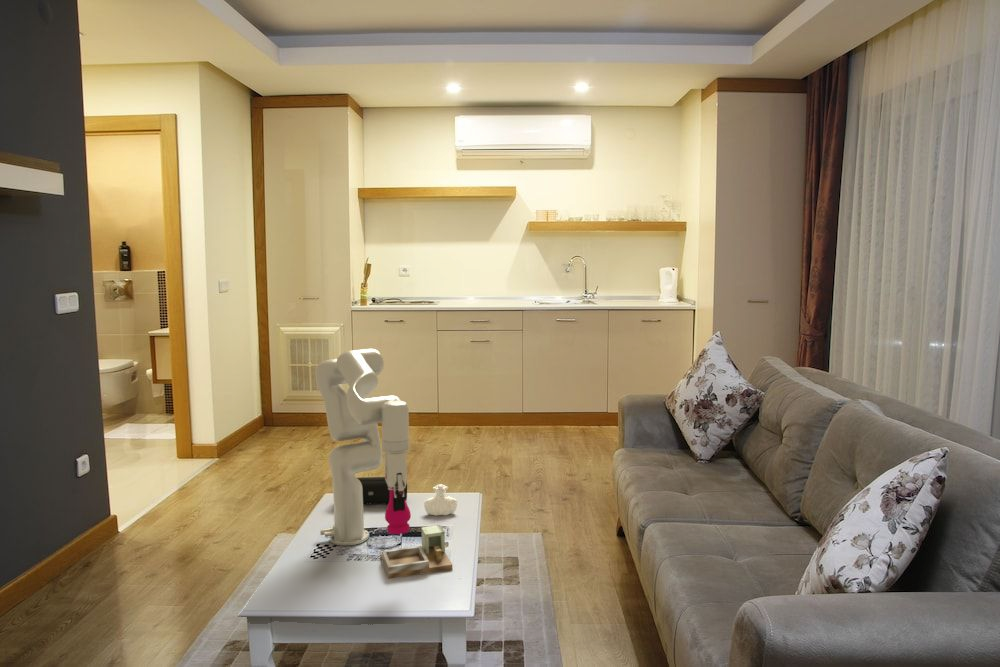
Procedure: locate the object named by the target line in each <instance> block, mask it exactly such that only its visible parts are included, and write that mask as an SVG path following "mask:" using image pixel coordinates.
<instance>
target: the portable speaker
mask: <svg viewBox="0 0 1000 667" xmlns="http://www.w3.org/2000/svg"><path fill="white" fill-rule="evenodd" d="M356 478H357V479H358V480H359V481H360V482H361V484H362V487H363V505H388V504H389V500H390V491H389V490H388V485H387V483H386V480H385V476H369V477H366V476H365V477H364V476H362V477H356ZM404 496H405V501H406V502H407V498H408V481H407V482H406V486H405V488H404Z"/></svg>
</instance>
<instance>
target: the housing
mask: <svg viewBox="0 0 1000 667" xmlns="http://www.w3.org/2000/svg"><path fill="white" fill-rule="evenodd" d="M445 535H446V534H445V531H444V528H443V527H442V526H441V525H440V524H438V525H431V526H430V525H429V526H428V525H427V526H422V527H421V547H422V548H423V550H424V552H425V554H429V547H431V546H439V547H440V549H441V550H442V552H445V553H446V544H445V543H446V542H445V541H446V539H445V538H446V537H445Z"/></svg>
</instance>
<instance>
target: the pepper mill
mask: <svg viewBox="0 0 1000 667" xmlns="http://www.w3.org/2000/svg"><path fill="white" fill-rule="evenodd" d="M386 475H387V473H386ZM386 475H385V474H384V477H386ZM386 479H387V477H386ZM395 486H398V484H395ZM404 488H405V487H404ZM388 490H389V491H390V500H389V504H387V507H386V510H385V513H384V514H385V515H384V519H385V521H386V522H387V523H388V525H387V526H386V530H387V533H388V534H391V535H402V534H406V533H408V532H410V523H408V522H409V520H411V516H412V515H411V511H410V507H409V506H408V504H407V500H406V501H405V510H404V511H401V510H399V511H394V510H393V497H394V489H393V487H392V488H389V487H388ZM397 490H398V488H397V489H396V491H397Z"/></svg>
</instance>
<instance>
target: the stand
mask: <svg viewBox="0 0 1000 667" xmlns="http://www.w3.org/2000/svg"><path fill="white" fill-rule="evenodd" d="M379 553H380V559H381V562H382V565H383V568H384V570H385V572H386V575H387V577H388V580H389V579H391V580H392V579H397V578H404V577H410V576H411V577H412V576H417V575H423V574H424V575H425V574H430V573H435V572H436V573H437V572H444V571H450V570H451V571H452V570H453V563H452V561H451V560H450V558H449V556H448V555H447V552H446V551H445V552H442V550H441V549H440V547H439V546H431V547H429V554H425V552H424V550H423V548H422V545H418V546H417V545H416V546H409V547H403V548H397V549H388V550H382V551H381V552H379Z"/></svg>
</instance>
